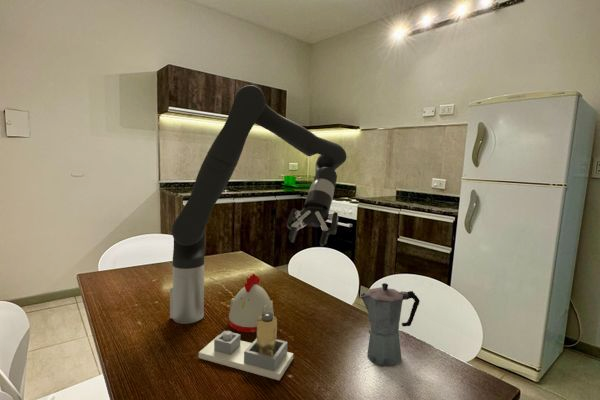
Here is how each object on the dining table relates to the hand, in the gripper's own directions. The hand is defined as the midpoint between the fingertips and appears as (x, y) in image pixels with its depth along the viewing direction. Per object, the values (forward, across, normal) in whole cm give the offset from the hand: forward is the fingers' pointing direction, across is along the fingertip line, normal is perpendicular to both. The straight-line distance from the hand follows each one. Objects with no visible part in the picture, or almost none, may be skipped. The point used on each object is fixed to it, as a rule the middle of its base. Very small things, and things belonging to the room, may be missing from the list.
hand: (306, 243), depth 89 cm
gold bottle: (+28, -5, +10) cm, 30 cm away
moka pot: (+19, +23, +21) cm, 36 cm away
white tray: (+29, -10, +10) cm, 33 cm away
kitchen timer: (+17, -18, +23) cm, 34 cm away
